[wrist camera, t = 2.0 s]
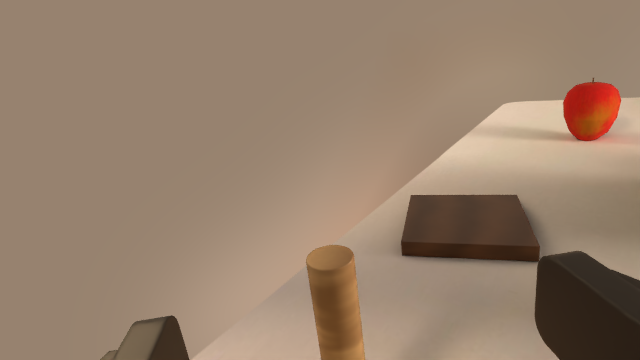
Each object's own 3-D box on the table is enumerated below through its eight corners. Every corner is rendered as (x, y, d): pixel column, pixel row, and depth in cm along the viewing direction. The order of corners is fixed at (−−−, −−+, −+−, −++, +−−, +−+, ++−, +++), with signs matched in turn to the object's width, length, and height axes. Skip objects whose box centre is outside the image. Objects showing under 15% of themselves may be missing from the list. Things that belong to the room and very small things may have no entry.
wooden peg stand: (306, 460, 23) (271, 279, 19) (327, 394, 28) (302, 234, 24) (384, 478, 22) (365, 286, 18) (394, 405, 26) (380, 236, 22)
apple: (628, 140, 72) (637, 75, 69) (580, 146, 72) (587, 82, 69) (593, 131, 81) (599, 72, 77) (551, 136, 81) (555, 78, 77)
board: (402, 255, 44) (401, 241, 44) (411, 206, 57) (410, 194, 56) (538, 261, 40) (540, 246, 39) (516, 206, 52) (516, 194, 52)
